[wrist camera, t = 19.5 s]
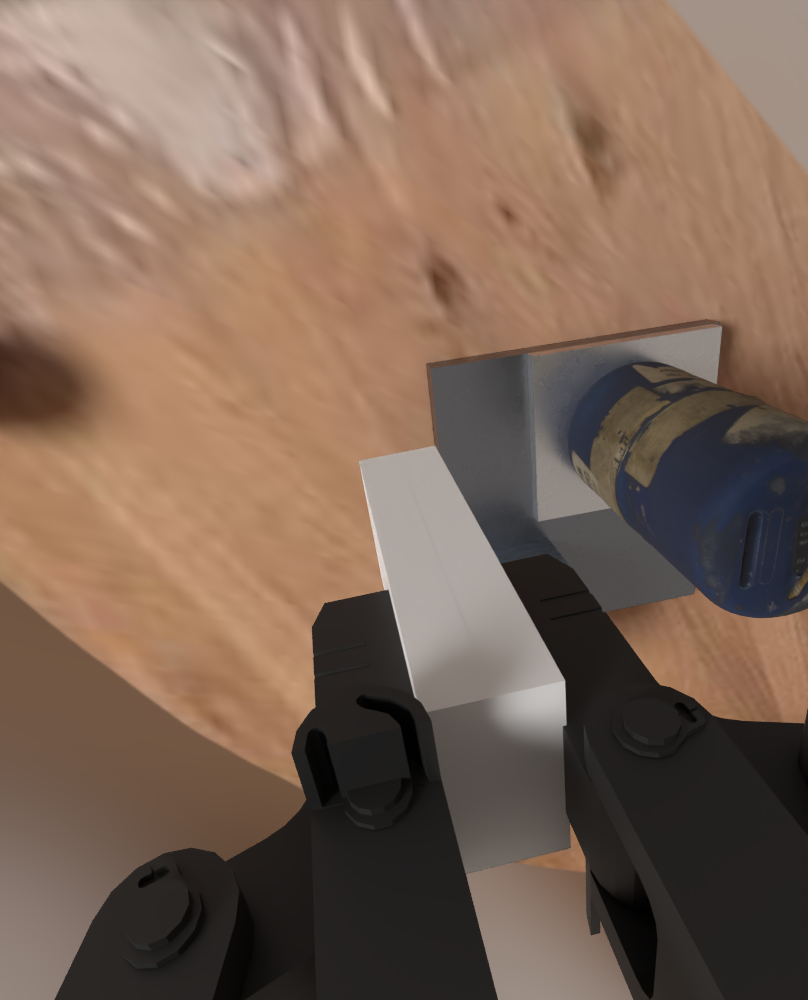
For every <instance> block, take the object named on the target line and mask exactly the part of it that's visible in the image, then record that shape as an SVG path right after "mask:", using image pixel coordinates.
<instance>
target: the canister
mask: <svg viewBox="0 0 808 1000" xmlns="http://www.w3.org/2000/svg"><path fill="white" fill-rule="evenodd" d="M567 447H568V454H569V457H570V461H571V463H572V466H573V468H574V470H575V471H576V473H577V474H578V476H579V477H580V478H581V480H582V481H583V482H584V483H585V484H586V485H587V486H588V487H589V488H591V489H592V490H593V491H594V492H595V493H596V494H597V495H598V496H599V497H600V498H601V499H602V500H603V501H604V502H605V503H606V504H607V505H608V506H609V507H610V508H612V509H613V510H614V511H615V512H616V513H617V514H618V515H619V516H620V517H621V519H622V520H623V521H624V522H625V523H626V524H628V525H629V526H630V527H631V528H632V529H634V530H635V531H636V532H637V533H639V534H640V535H641V536H642V537H643V539H644V540H645V541H647V542H648V543H649V544H650V545H652V546H653V547H654V548H655V549H656V550H657V551H658V552H659V553H660V554H661V555H662V556H663V557H664V558H665V559H666V560H667V561H668V562H670V563H671V564H672V565H673V566H674V567H675V568H676V569H677V570H678V571H679V572H680V573H681V574H682V575H683V576H684V577H685V578H686V579H687V580H688V581H690V582H691V583H692V584H693V585H694V586H695V587H696V588H698V589H699V590H700V591H701V592H702V593H703V594H704V595H705V596H706V597H707V598H708V599H709V600H710V601H712V602H713V603H714V604H716V605H717V606H719V607H720V608H722V609H724V610H726V611H729V612H731V613H734V614H737V615H741V616H746V617H753V618H772V617H780V616H786V615H789V614H793V613H796V612H800V611H802V610H805V609H807V608H808V422H807V421H805V420H802V419H800V418H798V417H795V416H793V415H791V414H788V413H786V412H783V411H781V410H779V409H776V408H774V407H771V406H769V405H768V404H766V403H764V402H763V401H762V400H761V399H759V398H757V397H753V396H747V395H744V394H741V393H737V392H734V391H731V390H729V389H727V388H724V387H722V386H719V385H717V384H715V383H712V382H710V381H707V380H705V379H703V378H700V377H698V376H695V375H693V374H691V373H688V372H686V371H684V370H681V369H679V368H676V367H673V366H670V365H667V364H664V363H660V362H650V361H647V362H636V363H631V364H627V365H624V366H621V367H619V368H617V369H614V370H612V371H611V372H609V373H607V374H605V375H604V376H603V377H601V378H600V379H599V380H597V381H596V382H595V383H594V384H593V385H592V386H591V387H590V388H589V389H588V390H587V391H586V392H585V394H584V395H583V396H582V398H581V399H580V401H579V402H578V404H577V406H576V408H575V410H574V412H573V415H572V417H571V420H570V423H569V427H568V434H567Z"/></svg>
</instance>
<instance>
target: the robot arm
mask: <svg viewBox="0 0 808 1000" xmlns="http://www.w3.org/2000/svg"><path fill="white" fill-rule="evenodd" d="M359 463H360V468H361V473H362V479H363V484H364V489H365V494H366V499H367V505H368V510H369V515H370V520H371V525H372V530H373V536H374V541H375V546H376V551H377V556H378V561H379V567H380V572H381V577H382V581H383V586H384V590H385V591H380V592H375V593H371V594H366V595H361V596H357V597H352V598H347V599H343V600H338V601H333V602H328V603H324V605H323V607H322V609H321V611H320V613H319V615H318V617H317V619H316V621H315V623H314V624H313V626H312V639H313V654H314V657H313V661H314V675H315V679H314V683H315V705H316V707H315V708H314V709H313V710H311V711H310V713H309V714H308V716H307V717H306V718H305V720H304V721H303V723H302V724H301V725H300V727H299V728H298V730H297V731H296V735H295V740H294V744H293V748H292V756H293V760H294V763H295V766H296V769H297V772H298V775H299V778H300V781H301V784H302V787H303V790H304V793H305V796H306V801H305V803H304V805H303V806H302V808H301V809H300V811H299V812H298V813H297V814H296V815H295V816H294V817H293V818H292V819H291V820H290V821H289V822H288V823H287V824H286V825H285V826H284V827H282V828H281V829H279V830H278V831H276V832H275V833H273V834H272V835H271V836H269V837H268V838H266V839H264V840H263V841H261V842H259V843H257V844H256V845H254V846H252V847H250V848H249V849H247V850H245V851H244V852H242V853H240V854H238V855H236V856H234V857H233V858H231V859H229V860H227V861H226V862H225V861H224V860H223V859H222V858H220V857H219V856H218V855H217V854H216V853H215V852H210V851H205V850H200V849H195V848H188V849H183V850H178V851H173V852H168V853H164V854H162V855H160V856H158V857H157V858H155V859H153V860H152V861H149V862H148V863H146V864H144V865H142V866H140V867H138V868H137V869H136V870H134V871H133V872H132V873H131V874H130V875H129V876H128V877H127V878H126V879H125V880H124V881H123V882H122V883H121V884H119V885H118V886H117V887H116V888H115V889H114V890H113V891H112V892H111V894H110V895H109V897H108V898H107V900H106V901H105V903H104V904H103V906H102V907H101V909H100V910H99V912H98V913H97V915H96V916H95V918H94V919H93V921H92V923H91V925H90V927H89V929H88V931H87V933H86V936H85V938H84V940H83V942H82V944H81V946H80V948H79V950H78V952H77V954H76V956H75V958H74V960H73V962H72V965H71V967H70V969H69V971H68V973H67V975H66V977H65V979H64V981H63V984H62V985H61V987H60V989H59V992H58V994H57V996H56V998H55V1000H498V998H497V994H496V991H495V987H494V983H493V979H492V975H491V971H490V967H489V963H488V960H487V955H486V952H485V947H484V944H483V940H482V936H481V932H480V928H479V924H478V920H477V916H476V913H475V909H474V905H473V901H472V897H471V893H470V889H469V885H468V881H467V877H466V874H468V873H472V872H476V871H481V870H484V869H488V868H492V867H496V866H500V865H504V864H508V863H512V862H516V861H520V860H524V859H528V858H532V857H536V856H540V855H544V854H548V853H552V852H556V851H560V850H564V849H568V848H571V845H570V823H571V826H572V828H573V830H574V832H575V835H576V837H577V839H578V841H579V844H580V846H581V848H582V851H583V853H584V855H585V857H586V906H587V907H586V911H587V919H588V923H589V928H590V933H591V935H594V934H598V933H600V921H601V923H602V926H603V928H604V930H605V933H606V935H607V937H608V940H609V942H610V945H611V947H612V949H613V952H614V954H615V957H616V959H617V961H618V964H619V966H620V969H621V971H622V973H623V976H624V978H625V981H626V983H627V985H628V988H629V990H630V992H631V995H632V997H633V999H634V1000H808V710H807V715H806V720H805V724H803V723H779V722H755V721H739V720H731V719H723V718H719V717H716V716H712V715H711V714H710V713H709V712H708V711H707V710H706V709H705V708H704V707H702V706H701V705H700V704H699V703H698V702H697V701H696V700H695V699H694V698H692V697H689V696H687V695H685V694H683V693H681V692H679V691H677V690H675V689H673V688H671V687H666V686H661V685H659V683H658V682H657V681H656V680H655V679H654V677H653V676H652V675H651V673H650V672H649V671H648V669H647V668H646V667H645V665H644V664H643V663H642V661H641V660H640V658H639V657H638V656H637V654H636V653H635V652H634V650H633V649H632V648H631V646H630V645H629V644H628V642H627V641H626V639H625V638H624V637H623V635H622V634H621V633H620V631H619V630H618V629H617V627H616V626H615V625H614V623H613V622H612V621H611V619H610V618H609V616H608V615H607V614H606V612H603V611H602V607H601V606H600V604H599V603H598V602H597V600H596V599H595V597H594V596H593V595H592V594H590V593H589V589H588V588H587V587H586V585H585V584H584V583H583V581H582V580H581V579H580V577H579V576H578V574H577V573H576V572H575V570H574V569H573V568H571V567H570V566H568V565H566V564H564V563H563V562H561V561H559V560H557V559H556V558H554V557H552V556H551V555H549V554H543V555H538V556H534V557H529V558H524V559H520V560H515V561H510V562H505V563H501V564H500V562H499V560H498V558H497V557H496V555H495V553H494V551H493V549H492V548H491V546H490V544H489V542H488V540H487V539H486V537H485V535H484V533H483V531H482V530H481V528H480V526H479V524H478V522H477V521H476V519H475V517H474V515H473V513H472V512H471V510H470V508H469V506H468V504H467V503H466V501H465V499H464V497H463V495H462V494H461V492H460V490H459V488H458V486H457V485H456V483H455V481H454V479H453V477H452V475H451V474H450V472H449V470H448V468H447V466H446V465H445V463H444V461H443V459H442V457H441V456H440V454H439V452H438V450H437V448H436V447H435V446H431V447H426V448H421V449H416V450H411V451H406V452H401V453H396V454H391V455H386V456H381V457H375V458H370V459H365V460H360V461H359Z"/></svg>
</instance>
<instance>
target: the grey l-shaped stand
mask: <svg viewBox="0 0 808 1000" xmlns="http://www.w3.org/2000/svg"><path fill="white" fill-rule="evenodd" d="M721 334H722V326H720V323H719V322H715V321H711V320H707V319H706V320H700V321H693V322H687V323H681V324H674V325H668V326H662V327H656V328H649V329H643V330H637V331H630V332H624V333H618V334H611V335H605V336H599V337H592V338H586V339H580V340H573V341H567V342H561V343H554V344H548V345H542V346H535V347H529V348H523V349H516V350H510V351H504V352H497V353H491V354H485V355H478V356H472V357H466V358H459V359H453V360H447V361H440V362H434V363H428V364H426V366H427V376H428V386H429V395H430V405H431V414H432V424H433V433H434V443H435V447H436V448H437V450H438V452H439V454H440V456H441V457H442V459H443V461H444V463H445V465H446V466H447V468H448V470H449V472H450V474H451V475H452V477H453V479H454V481H455V483H456V485H457V486H458V488H459V490H460V492H461V494H462V495H463V497H464V499H465V501H466V503H467V504H468V506H469V508H470V510H471V512H472V513H473V515H474V517H475V519H476V521H477V522H478V524H479V526H480V528H481V530H482V531H483V533H484V535H485V537H486V539H487V540H488V542H489V544H490V546H491V548H492V549H493V551H494V553H495V555H496V557H497V558H498V560H499V562H500V564H501V563H505V562H510V561H515V560H520V559H524V558H529V557H534V556H538V555H543V554H549V555H551V556H552V557H554V558H556V559H557V560H559V561H561V562H563V563H564V564H566V565H568V566H570V567H571V568H573V569H574V570H575V572H576V573H577V574H578V576H579V577H580V579H581V580H582V581H583V583H584V584H585V585H586V587H587V588H588V589H589V593H590V594H592V595H593V596H594V597H595V599H596V600H597V602H598V603H599V604H600V606H601V607H602V611H603V612H608V611H613V610H618V609H622V608H627V607H632V606H637V605H642V604H647V603H652V602H657V601H662V600H667V599H672V598H677V597H682V596H687V595H692V594H694V592H695V586H694V585H693V584H692V583H691V582H690V581H688V580H687V579H686V578H685V577H684V576H683V575H682V574H681V573H680V572H679V571H678V570H677V569H676V568H675V567H674V566H673V565H672V564H671V563H670V562H668V561H667V560H666V559H665V558H664V557H663V556H662V555H661V554H660V553H659V552H658V551H657V550H656V549H655V548H654V547H653V546H652V545H650V544H649V543H648V542H647V541H645V540H644V539H643V537H642V536H641V535H640V534H639V533H637V532H636V531H635V530H634V529H632V528H631V527H630V526H629V525H628V524H626V523H625V522H624V521H623V520H622V519H621V517H620V516H619V515H618V514H617V513H616V512H615V511H614V510H613V509H612V508H610V507H609V506H608V505H607V504H606V503H605V502H604V501H603V500H602V499H601V498H600V497H599V496H598V495H597V494H596V493H595V492H594V491H593V490H592V489H591V488H589V487H588V486H587V485H586V484H585V483H584V482H583V481H582V480H581V478H580V477H579V476H578V474H577V473H576V471H575V470H574V468H573V466H572V463H571V461H570V457H569V454H568V447H567V434H568V427H569V423H570V420H571V417H572V415H573V412H574V410H575V408H576V406H577V404H578V402H579V401H580V399H581V398H582V396H583V395H584V394H585V392H586V391H587V390H588V389H589V388H590V387H591V386H592V385H593V384H594V383H595V382H596V381H597V380H599V379H600V378H601V377H603V376H604V375H605V374H607V373H609V372H611V371H612V370H614V369H617V368H619V367H621V366H624V365H627V364H631V363H636V362H647V361H650V362H660V363H664V364H667V365H670V366H673V367H676V368H679V369H681V370H684V371H686V372H688V373H691V374H693V375H695V376H698V377H700V378H703V379H705V380H707V381H710V382H712V383H715V384H717V376H718V365H719V355H720V345H721Z"/></svg>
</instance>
